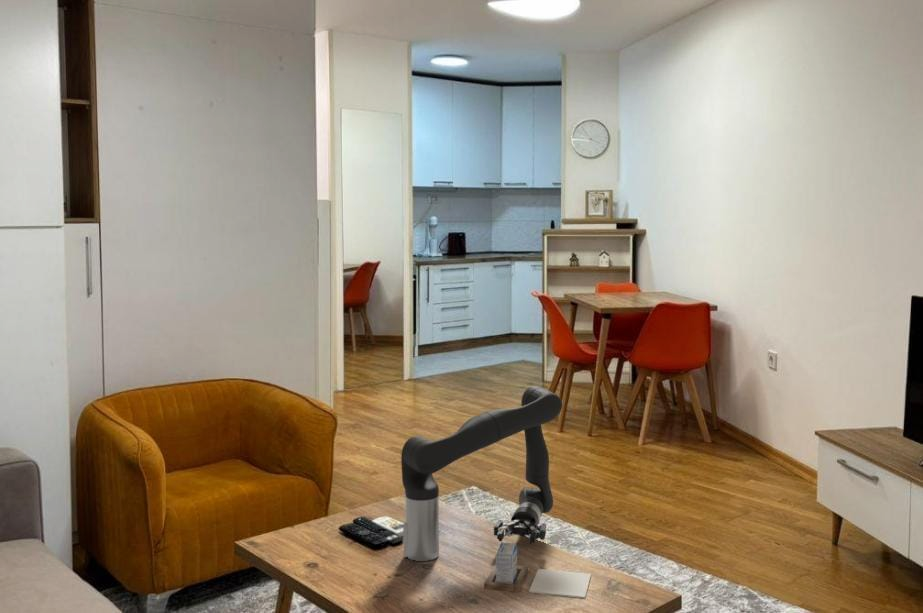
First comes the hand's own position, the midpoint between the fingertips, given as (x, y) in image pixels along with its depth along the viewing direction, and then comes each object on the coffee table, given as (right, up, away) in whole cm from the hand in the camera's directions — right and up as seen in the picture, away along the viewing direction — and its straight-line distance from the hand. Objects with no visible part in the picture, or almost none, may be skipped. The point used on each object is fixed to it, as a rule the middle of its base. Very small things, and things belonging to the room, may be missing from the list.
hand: (515, 539), depth 236 cm
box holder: (-3, -8, -10) cm, 13 cm away
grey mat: (+11, -8, -13) cm, 18 cm away
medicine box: (-3, -8, -10) cm, 13 cm away
